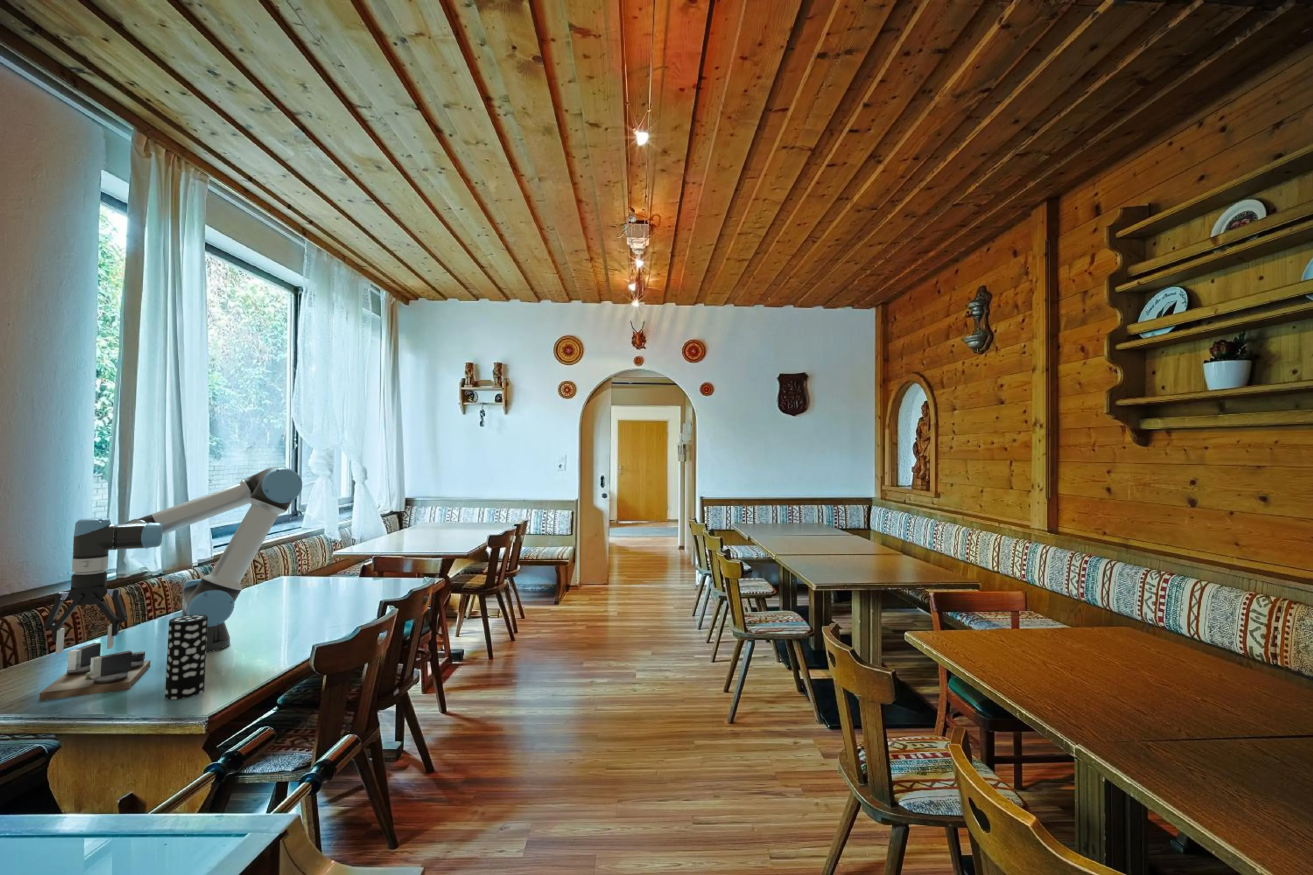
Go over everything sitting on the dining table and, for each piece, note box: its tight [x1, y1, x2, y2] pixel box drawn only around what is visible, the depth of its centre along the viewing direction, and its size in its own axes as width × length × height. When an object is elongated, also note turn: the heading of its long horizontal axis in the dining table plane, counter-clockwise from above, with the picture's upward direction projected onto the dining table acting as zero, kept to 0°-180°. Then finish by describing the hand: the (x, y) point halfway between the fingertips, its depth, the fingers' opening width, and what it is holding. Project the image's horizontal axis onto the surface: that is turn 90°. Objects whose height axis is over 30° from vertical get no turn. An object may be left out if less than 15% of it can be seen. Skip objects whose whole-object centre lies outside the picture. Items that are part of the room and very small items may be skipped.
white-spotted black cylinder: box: [164, 615, 208, 700], centre depth 160 cm, size 8×8×20 cm
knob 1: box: [66, 642, 102, 674], centre depth 170 cm, size 8×7×6 cm
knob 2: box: [90, 650, 133, 683], centre depth 163 cm, size 8×7×7 cm
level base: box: [38, 659, 152, 701], centre depth 167 cm, size 18×20×3 cm
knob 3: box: [131, 650, 146, 669], centre depth 173 cm, size 7×7×4 cm
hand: (85, 649), depth 170 cm, fingers open, 10 cm apart
